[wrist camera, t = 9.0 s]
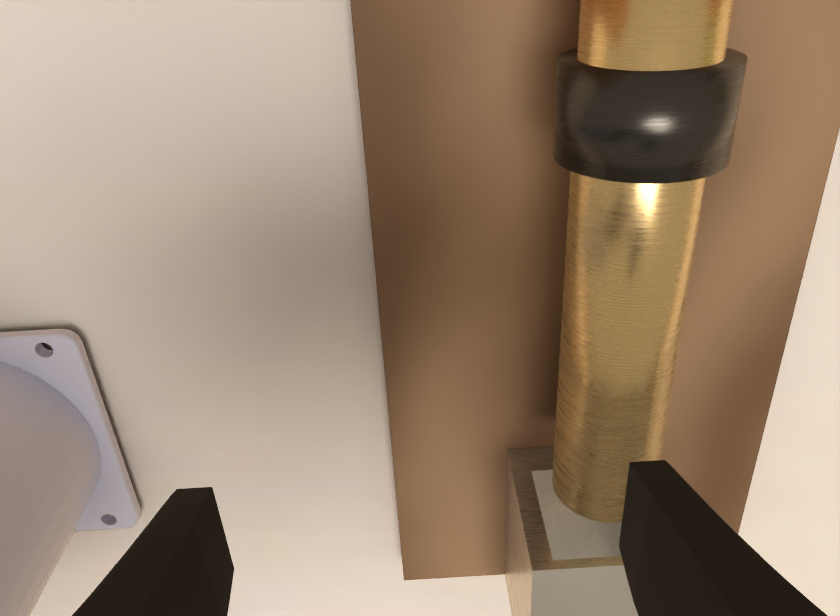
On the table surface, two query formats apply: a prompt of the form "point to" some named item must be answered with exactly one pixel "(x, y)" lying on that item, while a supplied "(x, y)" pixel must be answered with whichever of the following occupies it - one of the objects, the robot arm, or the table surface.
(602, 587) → the outer sleeve
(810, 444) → the table surface
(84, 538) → the table surface
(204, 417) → the table surface
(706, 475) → the base board
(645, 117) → the inner tube
